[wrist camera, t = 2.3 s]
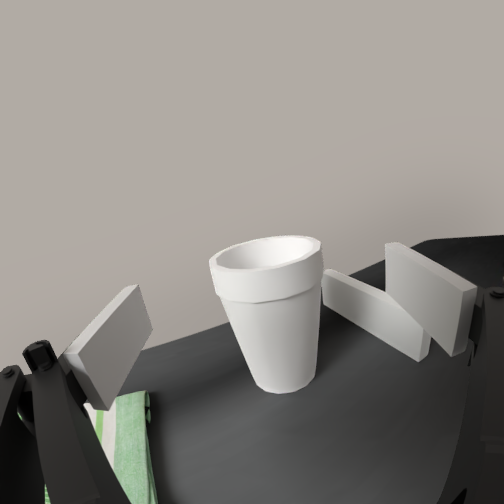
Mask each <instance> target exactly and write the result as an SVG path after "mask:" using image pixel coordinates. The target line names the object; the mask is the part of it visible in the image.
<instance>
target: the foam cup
mask: <svg viewBox="0 0 504 504" xmlns="http://www.w3.org/2000/svg"><path fill="white" fill-rule="evenodd" d="M209 264H210V270H211V274H212V279H213V283H214V287H215V291H216V294H217V295H219V296H220V298H221V301H222V303H223V306H224V308H225V311H226V313H227V316H228V318H229V321H230V323H231V326H232V328H233V331H234V333H235V336H236V338H237V340H238V343H239V345H240V348H241V350H242V352H243V355H244V357H245V359H246V362H247V364H248V366H249V369H250V371H251V373H252V376H253V378H254V380H255V381H256V384H257V385H258V386H259V387H260V388H262V389H263V390H264V391H267V392H272V393H277V394H282V393H290V392H295V391H297V390H299V389H301V388H303V387H305V386H307V385H308V384H309V383H310V381H311V380H312V379H313V378H314V376H315V370H316V362H317V349H318V335H319V320H320V300H321V279H322V278H323V272H324V265H323V255H322V248H321V242H320V241H318V240H316V239H314V238H312V237H306V236H298V235H292V236H274V237H268V238H262V239H255V240H252V241H248V242H244V243H240V244H237V245H234V246H231V247H229V248H227V249H224V250H222V251H220V252H218V253H217V254H216V255H214V256H213V257H212V258H211V259H209Z"/></svg>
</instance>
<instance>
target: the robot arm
mask: <svg viewBox="0 0 504 504" xmlns="http://www.w3.org/2000/svg"><path fill="white" fill-rule="evenodd" d="M385 257H386V293H387V294H389V295H390V296H391V297H392V298H393V299H394V300H395V301H396V302H397V303H398V304H399V305H400V306H401V307H402V308H403V309H404V310H405V311H406V312H407V313H408V314H409V315H410V316H411V317H412V318H413V319H414V320H415V321H416V322H417V323H418V324H419V325H420V326H421V327H422V328H423V329H424V330H425V331H426V332H427V333H428V334H429V335H430V336H431V337H432V338H433V339H434V340H435V341H436V342H437V343H438V344H439V345H440V346H441V347H442V348H443V349H444V350H445V351H446V352H447V353H448V354H449V355H450V356H451V357H453V356H455V355H457V354H460V353H462V352H464V351H465V350H466V346H467V342H468V338H470V339H471V340H472V341H473V342H474V344H473V348H472V352H471V356H470V359H469V363H468V366H470V365H471V368H470V377H469V385H468V393H467V399H466V405H465V411H464V417H463V422H462V426H461V431H460V435H459V440H458V444H457V448H456V451H455V455H454V459H453V462H452V465H451V469H450V472H449V475H448V478H447V481H446V484H445V487H444V489H443V492H442V494H441V497H440V499H439V501H438V502H437V504H504V288H502V287H489V288H487V289H484V288H482V287H480V286H479V285H477V284H475V283H474V282H472V281H470V280H469V279H467V278H464V277H463V276H462V275H460V274H458V273H456V272H453V271H450V270H448V269H447V268H445V267H443V266H441V265H439V264H438V263H436V262H434V261H432V260H430V259H429V258H427V257H425V256H423V255H421V254H419V253H418V252H416V251H414V250H412V249H410V248H408V247H406V246H404V245H402V244H401V243H398V242H393V243H388V244H385ZM152 330H153V329H152V326H151V322H150V319H149V317H148V314H147V311H146V307H145V304H144V301H143V298H142V295H141V292H140V288H139V285H132V286H126V287H125V288H124V289H123V290H122V291H121V292H120V293H119V294H118V295H117V296H116V297H115V298H114V299H113V300H112V301H111V302H110V303H109V304H108V305H107V306H106V307H105V308H104V309H103V310H102V312H101V313H100V314H99V315H98V316H97V317H96V318H95V319H94V320H93V321H92V322H91V323H90V324H89V325H88V326H87V327H86V328H85V329H84V331H83V332H82V333H81V334H80V335H79V336H78V337H77V338H76V339H75V340H74V341H73V342H72V343H71V344H70V345H69V347H68V348H67V349H66V350H65V351H64V352H63V353H62V354H61V355H60V357H59V358H58V359H57V357H56V355H55V353H54V351H53V349H52V347H51V344H50V342H49V341H47V340H41V341H37V342H35V343H33V344H31V345H29V346H28V347H27V348H26V349H25V350H24V351H23V353H22V354H23V356H24V358H25V360H26V362H27V364H28V366H29V368H30V370H31V371H32V374H28V375H24V374H23V372H22V371H21V369H20V367H19V366H17V365H13V366H8V367H6V368H4V369H3V371H1V372H0V504H45V485H46V489H47V493H48V497H49V500H50V504H132V503H131V502H130V500H129V498H128V497H127V495H126V493H125V492H124V490H123V488H122V486H121V484H120V482H119V481H118V479H117V477H116V475H115V473H114V471H113V469H112V467H111V465H110V463H109V461H108V459H107V457H106V455H105V452H104V450H103V448H102V446H101V444H100V441H99V439H98V437H97V434H96V432H95V429H94V427H93V424H92V422H91V419H90V417H89V414H88V411H87V410H86V408H85V407H84V403H85V401H86V400H87V399H88V401H89V403H90V404H91V406H92V408H93V409H94V410H102V411H109V410H110V408H111V406H112V404H113V402H114V400H115V398H116V396H117V394H118V393H119V391H120V389H121V387H122V385H123V383H124V381H125V379H126V377H127V376H128V374H129V372H130V370H131V368H132V366H133V364H134V363H135V361H136V359H137V357H138V355H139V354H140V352H141V350H142V348H143V346H144V345H145V343H146V341H147V339H148V337H149V336H150V334H151V332H152ZM18 413H19V415H20V416H21V417H22V420H21V419H20V417H19V415H18Z"/></svg>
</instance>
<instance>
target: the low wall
mask: <svg viewBox="0 0 504 504" xmlns="http://www.w3.org/2000/svg"><path fill="white" fill-rule="evenodd" d="M321 282H322V293H323V304H324V305H326V306H327V307H329V308H330V309H332V310H334V311H335V312H337V313H339V314H340V315H342V316H343V317H345V318H347V319H348V320H350V321H352V322H353V323H355V324H356V325H358V326H360V327H361V328H363V329H365V330H366V331H368V332H370V333H371V334H373V335H374V336H376V337H378V338H379V339H381V340H383V341H384V342H386V343H387V344H389V345H391V346H392V347H394V348H396V349H397V350H399V351H401V352H402V353H404V354H406V355H407V356H409V357H410V358H412V359H414V360H415V361H417V362H420V361H421V360H422V359H423V358H425V357H426V356H427V355H428V352H429V346H430V340H431V336H430V335H429V334H428V333H427V332H426V331H425V330H424V329H423V328H422V327H421V326H420V325H419V324H418V323H417V322H416V321H415V320H414V319H413V318H412V317H411V316H410V315H409V314H408V313H407V312H406V311H405V310H404V309H403V308H402V307H401V306H400V305H399V304H398V303H397V302H396V301H395V300H394V299H393V298H392V297H391V296H390V295H389V294H387V293H386V292H384V291H382V290H379V289H377V288H375V287H372V286H370V285H368V284H365V283H363V282H361V281H358V280H356V279H354V278H351V277H349V276H346V275H344V274H342V273H339V272H337V271H335V270H332V269H327V270H324V272H323V278H322V279H321Z"/></svg>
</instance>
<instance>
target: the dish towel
mask: <svg viewBox="0 0 504 504" xmlns="http://www.w3.org/2000/svg"><path fill="white" fill-rule="evenodd" d="M149 405H150V401H149V395H148V392H147V391H139V392H135V393H131V394H127V395H123V396H119V397H116V398H115V400H114V402H113V404H112V406H111V408H110V410H109V411H102V410H94V409H93V408H92V406H91V404H90V403H85V404H84V407H85V408H86V410H87V411H88V414H89V417H90V419H91V422H92V424H93V427H94V429H95V432H96V434H97V437H98V439H99V441H100V444H101V446H102V448H103V450H104V452H105V455H106V457H107V459H108V461H109V463H110V465H111V467H112V469H113V471H114V473H115V475H116V477H117V479H118V481H119V482H120V484H121V486H122V488H123V490H124V492H125V493H126V495H127V497H128V498H129V500H130V502H131V503H132V504H158V500H157V495H156V488H155V482H154V477H153V471H152V465H151V458H150V451H149V444H148V437H147V431H146V420H145V418H146V419H147V420H148V421H149V423H150V419H151V418H150V410H148V412H147V414H146V417H145V406H147V407H149ZM18 415H19V413H18ZM19 417H20V419H21V420H22V417H21V416H20V415H19ZM45 504H50V500H49V497H48V493H47V489H46V485H45Z"/></svg>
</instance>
